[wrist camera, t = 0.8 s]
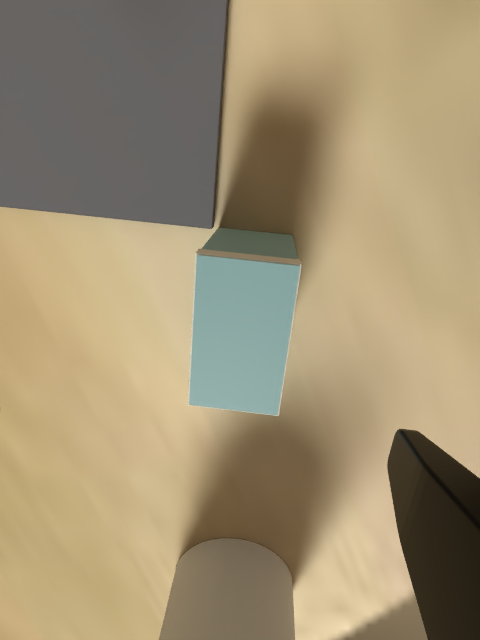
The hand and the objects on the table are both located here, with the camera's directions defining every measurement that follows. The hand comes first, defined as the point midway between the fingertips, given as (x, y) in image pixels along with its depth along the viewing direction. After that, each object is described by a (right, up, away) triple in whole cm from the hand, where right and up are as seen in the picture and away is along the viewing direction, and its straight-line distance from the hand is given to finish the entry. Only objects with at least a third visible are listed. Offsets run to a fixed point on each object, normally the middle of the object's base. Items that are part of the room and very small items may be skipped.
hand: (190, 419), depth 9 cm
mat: (-8, +13, +8) cm, 17 cm away
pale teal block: (+2, +4, +11) cm, 12 cm away
